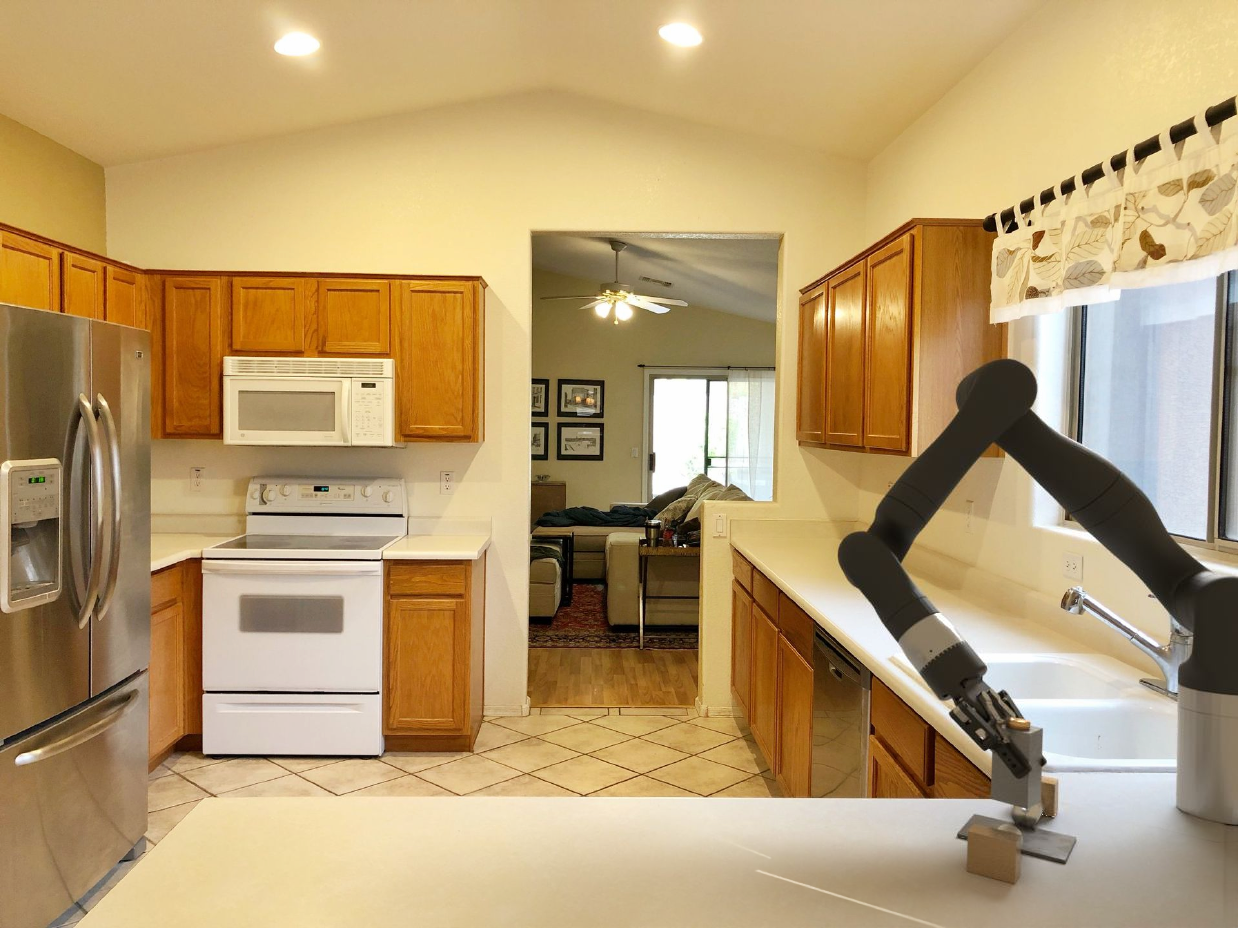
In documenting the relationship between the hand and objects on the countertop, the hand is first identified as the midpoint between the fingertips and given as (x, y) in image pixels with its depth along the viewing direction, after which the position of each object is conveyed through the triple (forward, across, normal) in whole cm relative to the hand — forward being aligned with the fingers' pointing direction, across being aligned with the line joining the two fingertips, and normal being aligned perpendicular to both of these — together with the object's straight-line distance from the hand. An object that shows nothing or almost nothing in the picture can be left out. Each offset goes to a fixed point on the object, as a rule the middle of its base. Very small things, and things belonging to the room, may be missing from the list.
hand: (1033, 770), depth 106 cm
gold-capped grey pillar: (+2, 0, +4) cm, 5 cm away
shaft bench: (+5, 0, +7) cm, 9 cm away
